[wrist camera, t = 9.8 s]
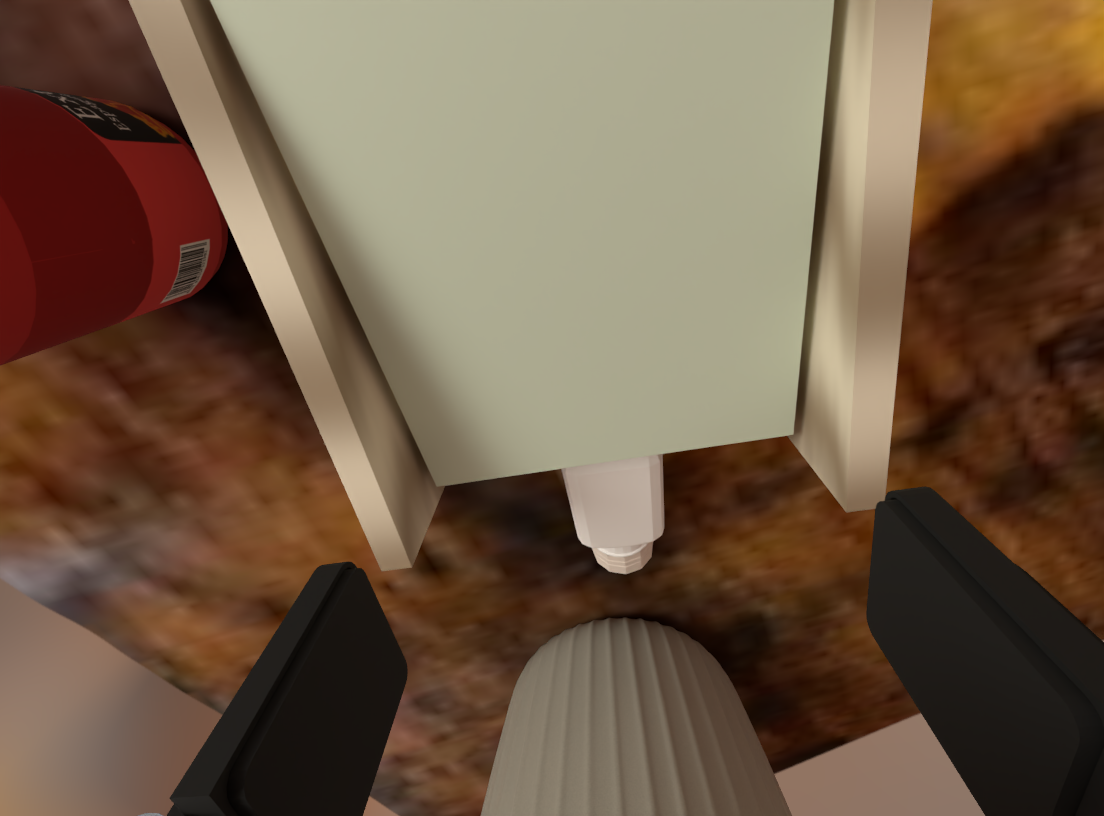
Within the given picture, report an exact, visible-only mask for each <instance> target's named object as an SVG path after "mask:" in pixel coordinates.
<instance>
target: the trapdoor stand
mask: <svg viewBox="0 0 1104 816" xmlns="http://www.w3.org/2000/svg"><path fill="white" fill-rule="evenodd" d="M932 1H933V0H834V10H833V20H832V31H831V41H830V52H829V62H828V73H827V84H826V94H825V105H824V115H823V126H822V137H821V147H820V158H819V168H818V179H817V189H816V200H815V211H814V221H813V232H812V242H811V253H810V263H809V274H808V285H807V295H806V306H805V316H804V327H803V338H802V348H801V359H800V369H799V380H798V390H797V401H796V412H795V422H794V433H793V435H788V437H789V439H790V440H791V441H792V443H793V444H794V445H795V447H796V448H797V449H798V450H799V452H800V453H801V454H802V456H803V457H804V458H805V459H806V461H807V462H808V463H809V465H810V466H811V467H812V469H813V470H814V471H815V472H816V474H817V475H818V476H819V478H820V479H821V480H822V482H823V483H824V484H825V485H826V487H827V488H828V489H829V491H830V492H831V493H832V494H833V496H834V497H835V498H836V500H837V501H838V502H839V504H840V505H841V506H842V507H843V509H844V510H845V511H846V512H853V511H861V510H869V509H876V505H877V503H878V502H880V501H885V494H886V483H887V473H888V463H889V452H890V442H891V431H892V421H893V410H894V400H895V389H896V379H897V368H898V358H899V347H900V337H901V326H902V316H903V305H904V295H905V284H906V274H907V263H908V253H909V242H910V232H911V221H912V211H913V200H914V190H915V179H916V169H917V158H918V148H919V137H920V127H921V117H922V106H923V96H924V85H925V75H926V64H927V54H928V43H929V33H930V22H931V12H932ZM129 2H130V4H131V7H132V9H133V11H134V13H135V16H136V18H137V20H138V23H139V25H140V27H141V29H142V32H143V34H144V36H145V38H146V41H147V43H148V45H149V47H150V50H151V52H152V54H153V56H154V59H155V61H156V63H157V65H158V68H159V70H160V72H161V74H162V77H163V79H164V81H165V83H166V86H167V88H168V90H169V92H170V95H171V97H172V99H173V102H174V104H175V106H176V108H177V111H178V113H179V115H180V117H181V120H182V122H183V124H184V126H185V129H186V131H187V133H188V135H189V138H190V140H191V142H192V144H193V147H194V149H195V151H196V153H197V156H198V158H199V160H200V162H201V165H202V167H203V169H204V171H205V174H206V176H207V178H208V180H209V183H210V185H211V187H212V190H213V192H214V194H215V196H216V199H217V201H218V203H219V205H220V208H221V210H222V212H223V214H224V217H225V219H226V221H227V223H228V226H229V228H230V230H231V232H232V235H233V237H234V239H235V241H236V244H237V246H238V248H239V250H240V253H241V255H242V257H243V259H244V262H245V264H246V266H247V268H248V271H249V273H250V275H251V278H252V280H253V282H254V284H255V287H256V289H257V291H258V293H259V296H260V298H261V300H262V302H263V305H264V307H265V309H266V311H267V314H268V316H269V318H270V320H271V323H272V325H273V327H274V329H275V332H276V334H277V336H278V338H279V341H280V343H281V345H282V347H283V350H284V352H285V354H286V357H287V359H288V361H289V363H290V366H291V368H292V370H293V372H294V375H295V377H296V379H297V381H298V384H299V386H300V388H301V390H302V393H303V395H304V397H305V399H306V402H307V404H308V406H309V408H310V411H311V413H312V415H313V417H314V420H315V422H316V424H317V426H318V429H319V431H320V433H321V435H322V438H323V440H324V442H325V445H326V447H327V449H328V451H329V454H330V456H331V458H332V460H333V463H334V465H335V467H336V469H337V472H338V474H339V476H340V478H341V481H342V483H343V485H344V487H345V490H346V492H347V494H348V496H349V499H350V501H351V503H352V505H353V508H354V510H355V512H356V514H357V517H358V519H359V521H360V523H361V526H362V528H363V530H364V533H365V535H366V537H367V539H368V542H369V544H370V546H371V548H372V551H373V553H374V555H375V557H376V560H377V562H378V564H379V566H380V569H381V571H387V570H395V569H403V568H410V567H412V566H413V564H414V561H415V559H416V556H417V554H418V551H419V549H420V546H421V544H422V541H423V539H424V536H425V534H426V531H427V529H428V526H429V524H430V521H431V519H432V516H433V514H434V512H435V509H436V507H437V504H438V502H439V499H440V497H441V494H442V492H443V489H444V487H445V486H439V487H437V486H436V484H435V482H434V480H433V478H432V476H431V473H430V471H429V469H428V467H427V465H426V463H425V461H424V458H423V456H422V454H421V452H420V450H419V448H418V446H417V443H416V441H415V439H414V437H413V435H412V433H411V431H410V428H409V426H408V424H407V422H406V420H405V418H404V416H403V413H402V411H401V409H400V407H399V405H398V403H397V401H396V398H395V396H394V394H393V392H392V390H391V388H390V386H389V383H388V381H387V379H386V377H385V375H384V373H383V371H382V368H381V366H380V364H379V362H378V360H377V358H376V356H375V353H374V351H373V349H372V347H371V345H370V343H369V341H368V338H367V336H366V334H365V332H364V330H363V328H362V325H361V323H360V321H359V319H358V317H357V315H356V313H355V310H354V308H353V306H352V304H351V302H350V300H349V298H348V295H347V293H346V291H345V289H344V287H343V285H342V283H341V280H340V278H339V276H338V274H337V272H336V270H335V268H334V265H333V263H332V261H331V259H330V257H329V255H328V253H327V250H326V248H325V246H324V244H323V242H322V240H321V238H320V235H319V233H318V231H317V229H316V227H315V225H314V223H313V220H312V218H311V216H310V214H309V212H308V210H307V208H306V205H305V203H304V201H303V199H302V197H301V195H300V193H299V190H298V188H297V186H296V184H295V182H294V180H293V178H292V175H291V173H290V171H289V169H288V167H287V165H286V163H285V160H284V158H283V156H282V154H281V152H280V150H279V148H278V145H277V143H276V141H275V139H274V137H273V135H272V132H271V130H270V128H269V126H268V124H267V122H266V120H265V117H264V115H263V113H262V111H261V109H260V107H259V105H258V102H257V100H256V98H255V96H254V94H253V92H252V90H251V87H250V85H249V83H248V81H247V79H246V77H245V75H244V72H243V70H242V68H241V66H240V64H239V62H238V60H237V57H236V55H235V53H234V51H233V49H232V47H231V45H230V42H229V40H228V38H227V36H226V34H225V32H224V30H223V27H222V25H221V23H220V21H219V19H218V17H217V15H216V12H215V10H214V8H213V6H212V4H211V2H210V0H129Z"/></svg>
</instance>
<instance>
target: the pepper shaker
mask: <svg viewBox="0 0 1104 816" xmlns="http://www.w3.org/2000/svg"><path fill="white" fill-rule="evenodd" d="M562 473H563V477H564V481H565V486H566V490H567V494H568V498H569V502H570V506H571V510H572V515H573V519H574V523H575V527H576V531H577V535H578V538H579V540H580V541H581V543H582V544H584V545H586V546H589V547H591V548H592V550H593V552H594V555H595V557H596V560H597V562H598V563H599V564H600V565H602V566H603V567H604V568H606V569H607V570H608V571H610V572H615V573H622V574H628V573H631V572H634V571H636V570H639V569H642V568H643V566H644V565H645V564H646V563H647V562H648V560H649V559H650V558H651V556H652V547H653V541H655V540H656V539H657V538H659V537H660V536H662V533H663V530H664V491H663V454H658V455H651V456H644V457H637V458H631V459H624V460H617V461H610V462H603V463H596V464H589V465H583V466H576V467H569V468H562Z"/></svg>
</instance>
